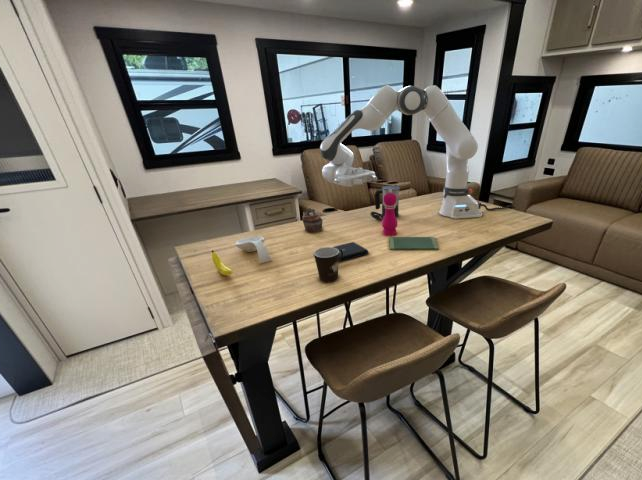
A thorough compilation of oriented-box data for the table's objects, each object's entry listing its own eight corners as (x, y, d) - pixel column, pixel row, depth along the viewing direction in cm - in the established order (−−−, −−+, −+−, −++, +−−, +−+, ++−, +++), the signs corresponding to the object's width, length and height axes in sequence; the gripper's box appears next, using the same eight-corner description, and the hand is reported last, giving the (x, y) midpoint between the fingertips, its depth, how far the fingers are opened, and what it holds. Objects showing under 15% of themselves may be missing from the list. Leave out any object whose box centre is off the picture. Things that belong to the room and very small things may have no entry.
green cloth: (434, 238, 142) (434, 236, 142) (438, 249, 131) (438, 248, 131) (389, 238, 143) (389, 237, 143) (390, 249, 132) (390, 248, 132)
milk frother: (400, 213, 174) (401, 185, 166) (395, 222, 161) (396, 193, 153) (375, 212, 177) (374, 185, 169) (368, 221, 164) (368, 192, 156)
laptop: (313, 251, 132) (312, 247, 131) (357, 243, 139) (357, 239, 138) (323, 266, 120) (323, 261, 119) (371, 257, 127) (371, 252, 125)
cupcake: (318, 234, 150) (316, 213, 144) (300, 232, 152) (297, 211, 147) (326, 227, 157) (325, 207, 152) (309, 225, 160) (307, 206, 155)
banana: (229, 284, 109) (225, 268, 106) (212, 266, 122) (208, 251, 118) (238, 282, 111) (233, 265, 108) (220, 264, 123) (216, 249, 120)
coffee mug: (321, 286, 107) (318, 259, 102) (313, 276, 114) (310, 250, 108) (352, 278, 112) (351, 252, 106) (342, 268, 118) (341, 243, 113)
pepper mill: (378, 233, 149) (378, 189, 138) (388, 229, 153) (389, 186, 142) (390, 237, 145) (391, 192, 134) (400, 232, 149) (401, 189, 138)
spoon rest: (233, 248, 137) (229, 232, 133) (260, 241, 143) (257, 226, 139) (251, 267, 121) (247, 249, 117) (280, 259, 127) (277, 242, 123)
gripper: (331, 173, 144) (353, 177, 136) (362, 167, 157) (383, 170, 149) (332, 187, 147) (353, 192, 139) (362, 180, 160) (383, 184, 152)
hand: (369, 180), depth 144 cm, fingers open, 8 cm apart
